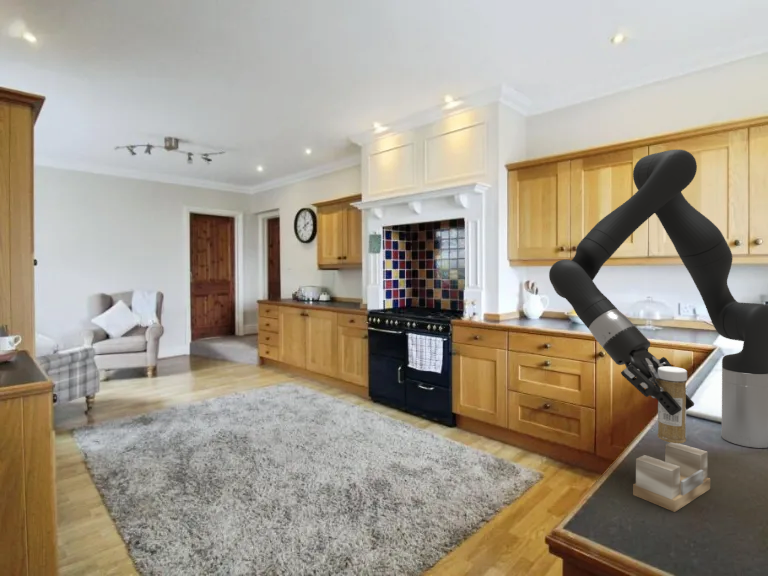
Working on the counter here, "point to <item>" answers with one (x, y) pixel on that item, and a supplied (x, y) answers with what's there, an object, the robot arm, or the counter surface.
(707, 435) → the counter surface
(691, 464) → the napkin holder
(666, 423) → the sprinkles bottle
